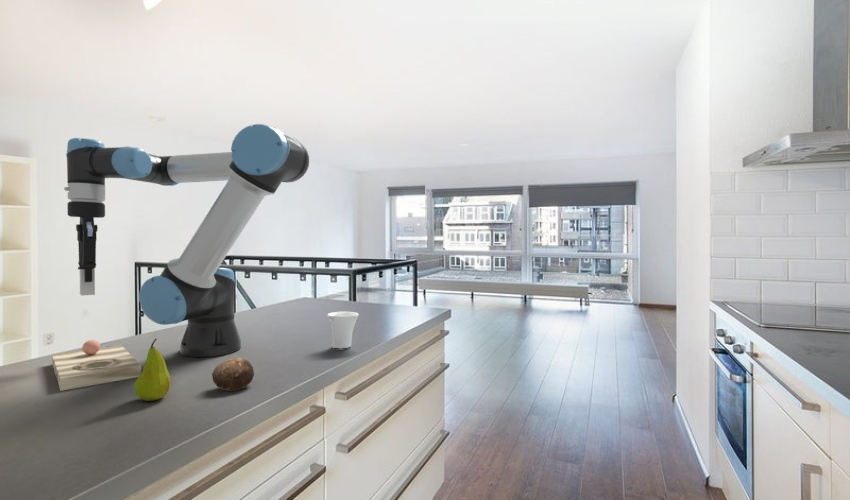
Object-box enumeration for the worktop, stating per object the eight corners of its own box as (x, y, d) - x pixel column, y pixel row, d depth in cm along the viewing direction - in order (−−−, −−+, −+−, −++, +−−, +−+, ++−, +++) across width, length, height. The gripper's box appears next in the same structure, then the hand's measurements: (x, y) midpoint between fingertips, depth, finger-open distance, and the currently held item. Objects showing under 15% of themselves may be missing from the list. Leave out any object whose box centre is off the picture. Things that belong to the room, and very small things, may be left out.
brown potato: (223, 364, 97) (227, 346, 94) (257, 377, 98) (262, 359, 95) (202, 392, 91) (206, 373, 87) (239, 406, 91) (244, 387, 88)
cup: (320, 349, 124) (320, 314, 124) (338, 342, 133) (338, 309, 132) (346, 352, 121) (347, 316, 120) (363, 345, 129) (364, 311, 129)
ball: (103, 352, 108) (103, 338, 108) (92, 356, 105) (92, 342, 104) (90, 352, 108) (90, 338, 108) (78, 356, 105) (78, 341, 105)
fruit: (146, 393, 88) (146, 334, 88) (178, 393, 88) (178, 334, 88) (126, 405, 82) (126, 341, 81) (160, 405, 82) (160, 342, 82)
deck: (52, 364, 106) (52, 354, 106) (121, 354, 116) (121, 345, 116) (60, 390, 89) (60, 378, 89) (141, 376, 98) (141, 365, 98)
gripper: (64, 202, 113) (65, 292, 114) (70, 199, 102) (71, 299, 103) (100, 203, 118) (101, 290, 119) (109, 201, 108) (110, 296, 108)
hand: (87, 294), depth 111 cm, fingers closed
